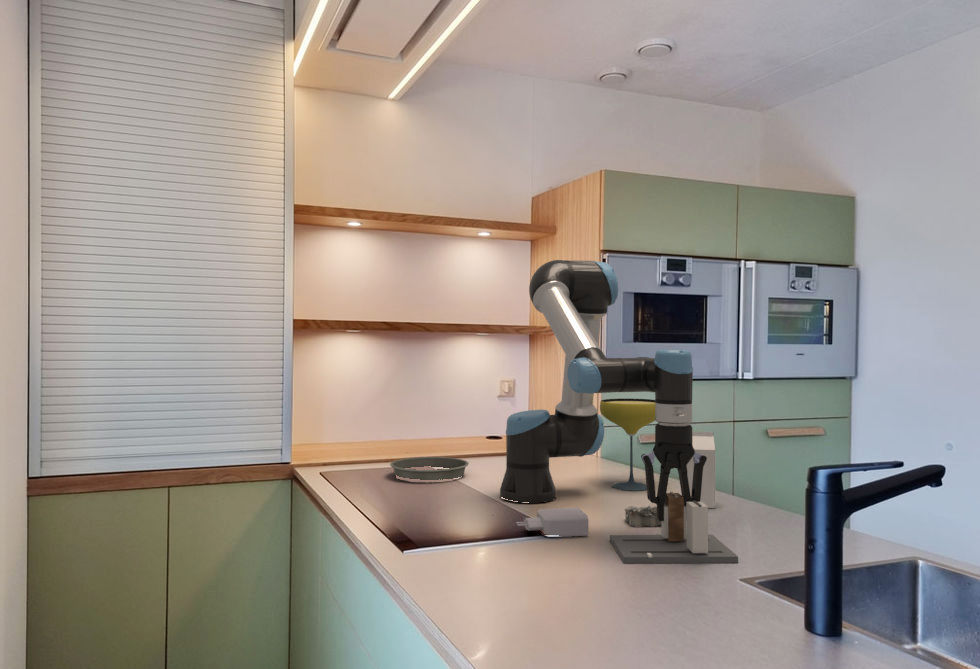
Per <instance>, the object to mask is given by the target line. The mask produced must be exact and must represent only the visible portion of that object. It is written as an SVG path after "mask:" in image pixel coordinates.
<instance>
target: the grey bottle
mask: <svg viewBox="0 0 980 669" xmlns="http://www.w3.org/2000/svg"><path fill="white" fill-rule="evenodd" d="M515 524H516V525H517V526H518V527H524V528H525V529H526V531H527V530H528V531H529V532H530V531H539V530H542V532H543V533H544V534H548V535H559V536H562V537H561V538H573V537H572V536H583V537H589V517H588V515H587V514H586V512H584V511H583V510H582V509H581V508H579V507H564V508H563V507H560V508H559V507H558V508H540V509H539V510H537V511H536V517H534V516H533V517H525V518H524V519H523V521H516V523H515ZM528 531H527V532H528Z"/></svg>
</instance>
